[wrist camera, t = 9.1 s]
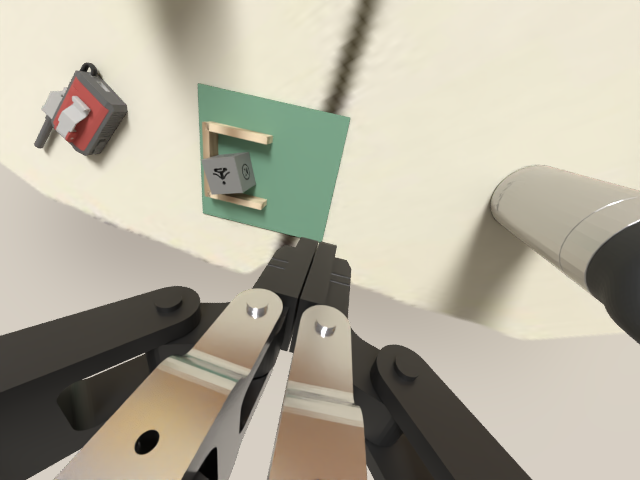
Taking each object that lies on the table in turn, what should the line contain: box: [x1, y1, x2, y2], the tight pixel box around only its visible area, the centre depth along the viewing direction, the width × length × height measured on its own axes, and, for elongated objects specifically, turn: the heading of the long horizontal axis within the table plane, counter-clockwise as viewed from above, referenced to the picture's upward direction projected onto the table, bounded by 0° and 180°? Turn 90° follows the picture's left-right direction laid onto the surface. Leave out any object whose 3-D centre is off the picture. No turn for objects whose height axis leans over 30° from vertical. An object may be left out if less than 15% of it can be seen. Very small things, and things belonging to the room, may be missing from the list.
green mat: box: [198, 83, 350, 242], centre depth 38 cm, size 22×20×1 cm
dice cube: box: [201, 152, 256, 195], centre depth 36 cm, size 5×5×5 cm
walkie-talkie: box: [34, 63, 128, 155], centre depth 38 cm, size 9×4×20 cm
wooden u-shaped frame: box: [202, 121, 273, 210], centre depth 37 cm, size 10×11×2 cm
